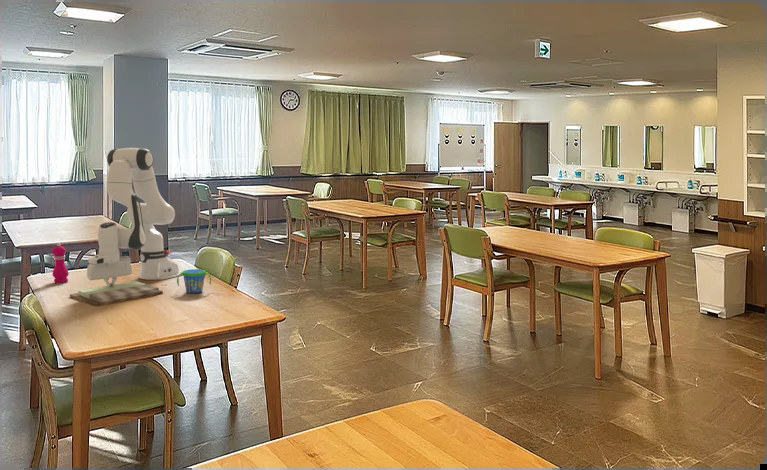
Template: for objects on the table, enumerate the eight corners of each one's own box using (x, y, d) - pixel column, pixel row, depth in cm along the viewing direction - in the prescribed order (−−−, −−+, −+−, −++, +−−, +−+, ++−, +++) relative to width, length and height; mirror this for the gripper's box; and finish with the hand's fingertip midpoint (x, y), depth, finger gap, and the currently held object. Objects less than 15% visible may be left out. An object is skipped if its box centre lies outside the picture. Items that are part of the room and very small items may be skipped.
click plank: (136, 285, 319) (135, 281, 318) (146, 288, 312) (146, 284, 312) (78, 294, 297) (78, 290, 297) (89, 298, 291) (88, 294, 291)
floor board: (135, 285, 323) (134, 279, 323) (162, 293, 307) (162, 287, 307) (69, 296, 299) (69, 290, 299) (96, 306, 283) (95, 298, 283)
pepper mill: (72, 281, 332) (69, 242, 329) (63, 284, 325) (61, 244, 322) (58, 280, 333) (56, 241, 330) (50, 283, 326) (47, 244, 323)
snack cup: (212, 289, 317) (212, 268, 316) (210, 294, 307) (209, 273, 306) (179, 289, 315) (178, 269, 314) (175, 295, 305) (175, 273, 304)
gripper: (127, 254, 313) (128, 282, 315) (84, 259, 298) (86, 289, 300) (133, 255, 309) (135, 284, 311) (91, 261, 294) (92, 291, 296)
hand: (110, 286), depth 305 cm, fingers closed, pressing on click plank
